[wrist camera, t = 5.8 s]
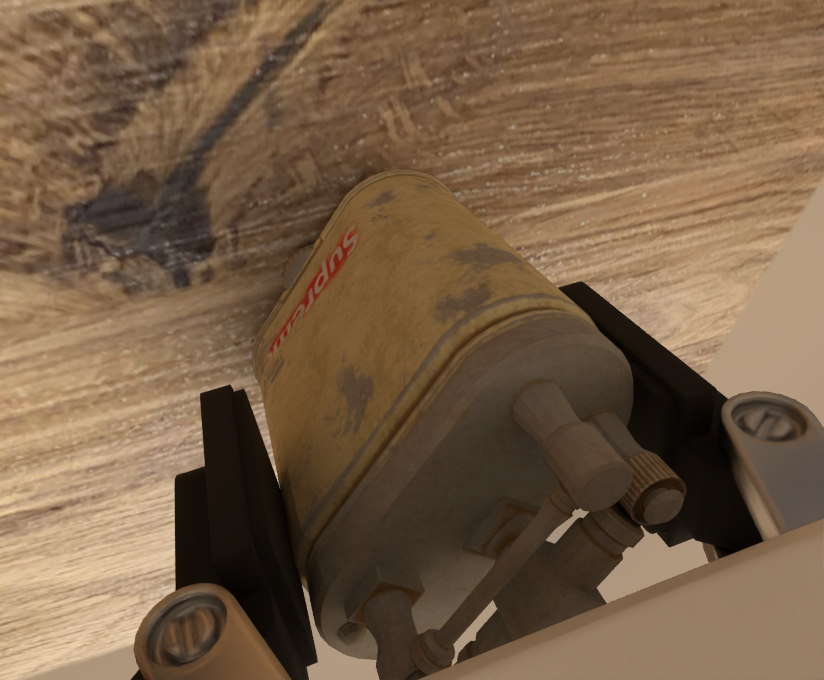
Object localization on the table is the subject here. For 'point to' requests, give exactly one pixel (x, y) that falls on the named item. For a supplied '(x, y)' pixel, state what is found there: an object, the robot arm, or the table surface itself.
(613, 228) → the table surface
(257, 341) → the lighter
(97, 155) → the table surface
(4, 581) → the table surface
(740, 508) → the robot arm
